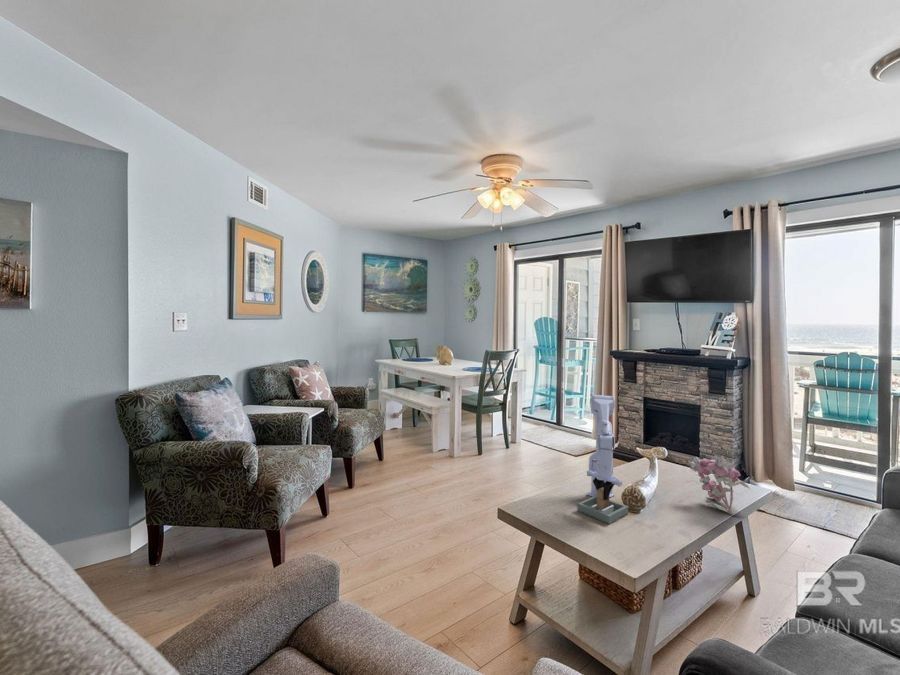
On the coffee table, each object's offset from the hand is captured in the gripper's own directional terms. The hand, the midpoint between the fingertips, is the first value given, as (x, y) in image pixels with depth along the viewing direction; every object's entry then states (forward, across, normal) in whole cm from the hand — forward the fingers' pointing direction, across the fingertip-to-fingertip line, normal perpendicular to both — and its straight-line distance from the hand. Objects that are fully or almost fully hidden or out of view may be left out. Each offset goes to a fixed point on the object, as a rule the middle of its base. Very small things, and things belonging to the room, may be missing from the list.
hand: (603, 498), depth 176 cm
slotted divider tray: (+6, 0, 0) cm, 6 cm away
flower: (+6, +25, +47) cm, 54 cm away
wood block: (+3, 0, 0) cm, 4 cm away
